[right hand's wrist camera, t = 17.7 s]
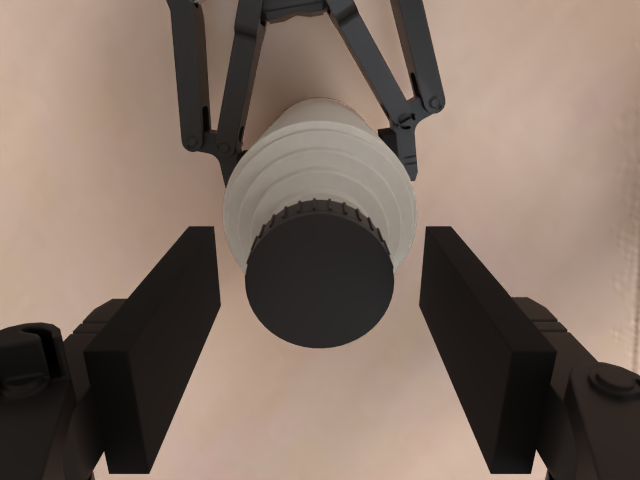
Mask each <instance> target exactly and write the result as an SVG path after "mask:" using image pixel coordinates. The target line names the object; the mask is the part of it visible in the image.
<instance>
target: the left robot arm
mask: <svg viewBox="0 0 640 480" xmlns="http://www.w3.org/2000/svg"><path fill="white" fill-rule="evenodd" d="M166 1H167V3H168V6H169V8H170V11H171V22H172V34H173V45H174V57H175V68H176V80H177V92H178V103H179V115H180V126H181V138H182V144H183V146H184V147H185V149H187V150H188V151H191V152H195V151H199V152H205V153H209V154H212V155H214V156H215V157H216V158H217V159H218V160H219V162H220V166H221V170H222V174H223V179H224V183H225V187H227V184H228V181H229V179H230V177H231V174H232V172H233V170H234V168H235V167H236V165H237V164H238V162H239V161H240V159H241V158H242V157H243V156H244V155H245V153H246V152H247V151H248V150H245V151H243V152H242V149H241V146H242V145H243V143H242V139H243V134H244V129H245V124H246V119H247V114H248V109H249V104H250V99H251V94H252V90H253V85H254V80H255V75H256V70H257V65H258V60H259V55H260V50H261V45H262V42H263V39H264V35H265V31H266V26H267V22H269V23H270V24H272V23H278V22H284V21H286V20H288V19H290V18H292V17H294V16H296V15H298V16H307V17H313V16H319V15H323V13H324V12H327V13H328V15H329V17H330V19H331V20H332V22H333V24H334V25H335V27H336V28H337V30H338V31H339V33H340V35H341V37H342V39H343V40H344V42H345V44H346V46H347V47H348V49H349V51H350V53H351V54H352V56H353V58H354V60H355V61H356V63H357V65H358V67H359V68H360V70H361V72H362V74H363V76H364V77H365V79H366V81H367V83H368V84H369V86H370V88H371V90H372V91H373V93H374V95H375V97H376V98H377V100H378V102H379V104H380V106H381V107H382V109H383V111H384V113H385V114H386V116H387V118H388V120H389V121H390V128H384V129H378V136H379V137H380V139H381V140H382V141H383V142H384V143H385V144H386V145H387V146H388V147H389V148H390V149H391V151H392V152H393V153H394V154H395V155H396V156H397V158H398V159H399V160H400V162H401V163H402V164H403V166H404V168H405V170H406V172H407V173H408V175H409V177H410V180H411V181H415V179H416V175H417V159H416V147H415V135H414V132H415V127H416V125H417V124H418V123H419V121H421V120H422V119H424V118H426V117H428V116H430V115H431V114H434V113H438V112H440V111H441V110H442V109H443V108H444V106H445V97H444V92H443V88H442V84H441V79H440V75H439V71H438V66H437V62H436V58H435V53H434V49H433V45H432V41H431V36H430V32H429V28H428V23H427V19H426V15H425V10H424V6H423V2H422V0H390V3H391V7H392V11H393V15H394V19H395V23H396V27H397V31H398V34H399V38H400V42H401V46H402V50H403V54H404V58H405V62H406V66H407V70H408V74H409V78H410V82H411V86H412V90H413V93H414V97H413V98H411V99H409V100H407V101H406V99H405V97H404V95H403V93H402V91H401V90H400V88H399V86H398V84H397V82H396V80H395V79H394V77H393V75H392V73H391V71H390V69H389V68H388V66H387V64H386V62H385V60H384V58H383V57H382V55H381V53H380V51H379V49H378V47H377V46H376V44H375V42H374V40H373V38H372V36H371V35H370V33H369V31H368V29H367V27H366V25H365V24H364V22H363V20H362V18H361V16H360V14H359V12H358V10H357V7H356V5H355V3H354V1H353V0H239V3H238V9H237V14H236V20H235V28H234V30H235V35H234V41H233V47H232V52H231V58H230V63H229V69H228V74H227V80H226V85H225V91H224V96H223V102H222V107H221V113H220V118H219V124H218V129H217V131H216V130H211V118H210V102H209V86H208V71H207V55H206V39H205V24H204V16H203V12H202V7H201V4H203V3H204V2H205V1H206V0H166Z"/></svg>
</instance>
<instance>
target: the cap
mask: <svg viewBox="0 0 640 480" xmlns="http://www.w3.org/2000/svg"><path fill="white" fill-rule="evenodd" d="M389 255H391V254H390V252H389V249H388V246H387V244H386V241H385V240H383V237H382V235H381V232H380V229H379V228H376V227H375V226H374V224H373V223H372V221H371V218H370V217H368V218H367V217H366V216H364V215H363V214H362V213H361V212H360V210H359V209H358V208H357V209H354V208H352V207H350V206H348V205H346V202H343V203H339V202H336V201H331V199H328V200H316V198H313V200H309V201H304V202H301V200H300V201H298V203H297V204H294V205H291V206H289V207H287V206H285V207H284V209H283V210H282V211H280V212H279V213H277V214H276V215H275V214H273V215H272V217H271V219H270V220H269V221H268V222H267V224H266V225H265V224H263V225H262V228H261V231H260V233H259V236H256V237H255V240H254V242H253V245H252V247H251V252H250V254H249V257H248V259H247V262H246V264H248V265H247V269H246V275H245V286H246V293H247V297H248V300H249V303H250V306H251V308H252V310H253V312H254V313H255V315H256V316H257V318H258V319H259V321H260V322H261V323H262V324H263V325H264V326H265V327H266V328H267V329H268V330H269V331H271V332H272V333H273V334H275V335H276V336H278V337H279V338H281V339H283V340H285V341H287V342H290V343H292V344H295V345H299V346H303V347H309V348H331V347H336V346H341V345H344V344H347V343H350V342H352V341H354V340H356V339H358V338H360V337H362V336H363V335H365V334H366V333H367V332H369V331H370V330H371V329H372V328H373V327H374V326H375V325H376V324H377V323H378V322H379V321H380V319H381V318H382V317H383V315H384V314H385V312H386V310H387V308H388V306H389V304H390V301H391V298H392V294H393V288H394V273H393V269H394V266H393V264H392V261H391V258H390V256H389Z"/></svg>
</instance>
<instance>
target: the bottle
mask: <svg viewBox="0 0 640 480" xmlns="http://www.w3.org/2000/svg"><path fill="white" fill-rule="evenodd" d="M313 198H316V200H328V199H331V201H336V202H339V203H343V202H346V205H348V206H350V207H352V208H354V209H357V208H358V209H359V210H360V212H361V213H362V214H363V215H364V216H366V217H367V218H368V217H370V218H371V221H372V223H373V224H374V226H375V227H376V228H379V229H380V232H381V235H382V237H383V240H385V241H386V244H387V246H388V249H389V252H390V254H391V255H389V256H390V258H391V261H392V264H393V266H394V269H393V273H395V272H396V271H397V269H398V268H399V266H400V265H401V263H402V262H403V260H404V259H405V257H406V255H407V253H408V251H409V249H410V247H411V244H412V241H413V238H414V234H415V229H416V222H417V205H416V197H415V193H414V188H413V186H412V183H411V180H410V177H409V175H408V173H407V172H406V170H405V168H404V166H403V164H402V163H401V162H400V160H399V159H398V158H397V156H396V155H395V154H394V153H393V152H392V151H391V149H390V148H389V147H388V146H387V145H386V144H385V143H384V142H383V141H382V140H381V139H380V137H379V136H378V135H377V134H376V133H375V132H374V131H373V130H372V129H371V128H370V127H369V125H368V124H367V123H366V122H365V121H364V120H363V119H362V118H361V117H360V116H359V115H358V114H357V113H356V112H355V111H354V110H353V109H352V108H350V107H349V106H347V105H345V104H344V103H341V102H339V101H336V100H332V99H327V98H313V99H307V100H304V101H301V102H299V103H296V104H294V105H293V106H291V107H290V108H288V109H287V110H286V111H285V112H283V113H282V114H281V115H280V117H279V118H278V119H277V120H276V121H275V122H274V123H273V124H272V125H271V126H270V127H269V128H268V130H267V131H266V132H265V133H264V134H263V135H262V136H261V137H260V138H259V139H258V140H257V141H256V143H255V144H254V145H253V146H252V147H251V148H250V149H249V150H248V151H247V152H246V153H245V155H244V156H243V157H242V158H241V159H240V161H239V162H238V164H237V165H236V167H235V168H234V170H233V172H232V174H231V177H230V179H229V181H228V184H227V187H226V190H225V195H224V200H223V214H222V216H223V227H224V232H225V236H226V240H227V243H228V245H229V248H230V250H231V252H232V254H233V256H234V258H235V260H236V261H237V263H238V264H239V266H240V267H241V269H242V270H243V271H244V273H245V274H246V269H247V265H248V264H246V262H247V259H248V257H249V254H250V252H251V247H252V245H253V242H254V240H255V237H256V236H259V233H260V231H261V228H262V225H263V224H265V225H266V224H267V222H268V221H269V220H270V219H271V217H272V215H273V214H275V215H276V214H277V213H279V212H280V211H282V210H283V209H284V207H285V206H287V207H289V206H291V205H294V204H297V203H298V201H300V200H301V202H304V201H309V200H313Z"/></svg>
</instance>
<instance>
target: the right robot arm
mask: <svg viewBox="0 0 640 480" xmlns="http://www.w3.org/2000/svg"><path fill="white" fill-rule="evenodd" d="M220 306H221V302H220V290H219V279H218V267H217V256H216V244H215V233H214V226H189V227H188V228H187V230H186V231H185V232H184V233H183V234H182V235H181V237H180V238H179V239H178V240H177V241H176V242H175V244H174V245H173V246H172V247H171V248H170V249H169V251H168V252H167V253H166V254H165V255H164V257H163V258H162V259H161V260H160V261H159V262H158V264H157V265H156V266H155V267H154V268H153V269H152V271H151V272H150V273H149V274H148V275H147V276H146V278H145V279H144V280H143V281H142V282H141V284H140V285H139V286H138V287H137V288H136V289H135V291H134V292H133V293H132V294H131V295H130V296H129V298H128V299H112V300H110V301H108V302H106V303H104V304H103V305H101V306H99V307H97V308H96V309H94V310H93V311H92V312H91V313H90V314H89V315H88V316H87V318H86V319H85V320H84V321H83V324H80V325H79V326H78V327H77V328H76V329H75V330H74V331H73V334H70V335H69V336H68V337H67V338H66V340H65V341H64V342H63V340H62V335H61V331H60V329H59V328H58V327H56V326H55V325H53V324H47V323H26V324H21V325H17V326H12V327H8V328H5V329H3V330H0V480H95V478H94V473H93V470H94V468H95V466H96V464H97V463H98V461H99V459H100V457H101V456H102V454H103V452H105V457H106V461H107V466H108V471H109V474H149V473H150V471H151V468H152V466H153V464H154V461H155V459H156V457H157V454H158V452H159V450H160V447H161V445H162V443H163V440H164V438H165V436H166V433H167V431H168V428H169V426H170V424H171V421H172V419H173V417H174V414H175V412H176V410H177V407H178V405H179V403H180V400H181V398H182V396H183V393H184V391H185V389H186V386H187V384H188V382H189V379H190V377H191V375H192V372H193V370H194V367H195V365H196V363H197V360H198V358H199V356H200V353H201V351H202V349H203V346H204V344H205V342H206V339H207V337H208V335H209V332H210V330H211V328H212V325H213V323H214V321H215V318H216V316H217V313H218V311H219V309H220ZM419 306H420V309H421V311H422V313H423V316H424V318H425V320H426V323H427V325H428V328H429V330H430V332H431V335H432V337H433V339H434V342H435V344H436V346H437V349H438V351H439V353H440V356H441V358H442V360H443V363H444V365H445V367H446V370H447V372H448V374H449V377H450V379H451V382H452V384H453V386H454V389H455V391H456V393H457V396H458V398H459V400H460V403H461V405H462V407H463V410H464V412H465V414H466V417H467V419H468V421H469V424H470V426H471V428H472V431H473V433H474V436H475V438H476V440H477V443H478V445H479V447H480V450H481V452H482V454H483V457H484V459H485V461H486V464H487V466H488V468H489V471H490V473H491V474H531V471H532V466H533V461H534V457H535V452H536V450H537V451H538V453H539V455H540V457H541V458H542V460H543V462H544V464H545V465H546V467H547V473H546V478H545V480H640V376H639V375H638V374H636V373H634V372H631V371H629V370H627V369H625V368H622V367H619V366H616V365H612V364H608V363H604V362H598V361H597V360H596V359H595V358H594V357H593V356H592V355H591V354H590V353H589V352H588V351H587V350H586V349H585V348H584V347H583V346H582V345H581V344H580V343H579V342H578V340H577V339H576V338H575V337H574V336H573V335H572V334H571V333H570V332H567V329H566V328H565V327H564V326H563V325H562V324H561V323H560V322H558V320H557V319H556V318H555V317H554V316H553V315H552V313H551V312H550V311H549V310H548V309H547V308H546V307H544V306H542V305H540V304H539V303H537V302H535V301H533V300H531V299H530V298H528V297H511V296H510V295H509V294H508V293H507V292H506V291H505V289H504V288H503V287H502V286H501V285H500V283H499V282H498V281H497V280H496V279H495V278H494V276H493V275H492V274H491V273H490V272H489V271H488V269H487V268H486V267H485V266H484V265H483V264H482V262H481V261H480V260H479V259H478V258H477V256H476V255H475V254H474V253H473V252H472V251H471V249H470V248H469V247H468V246H467V245H466V244H465V242H464V241H463V240H462V239H461V238H460V237H459V235H458V234H457V233H456V232H455V231H454V229H453V228H452V227H451V226H426V233H425V244H424V256H423V267H422V279H421V290H420V302H419Z"/></svg>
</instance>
